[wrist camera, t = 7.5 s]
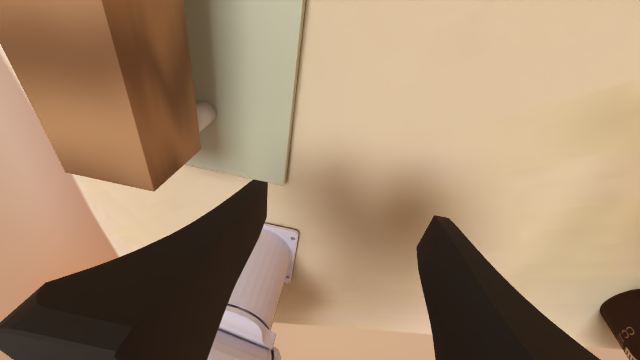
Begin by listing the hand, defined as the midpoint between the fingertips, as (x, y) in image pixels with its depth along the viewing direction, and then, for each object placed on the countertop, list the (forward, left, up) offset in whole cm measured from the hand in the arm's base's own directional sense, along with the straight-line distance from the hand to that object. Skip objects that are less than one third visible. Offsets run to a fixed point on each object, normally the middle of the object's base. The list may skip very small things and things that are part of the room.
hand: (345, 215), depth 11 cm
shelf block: (+3, +13, -6) cm, 15 cm away
